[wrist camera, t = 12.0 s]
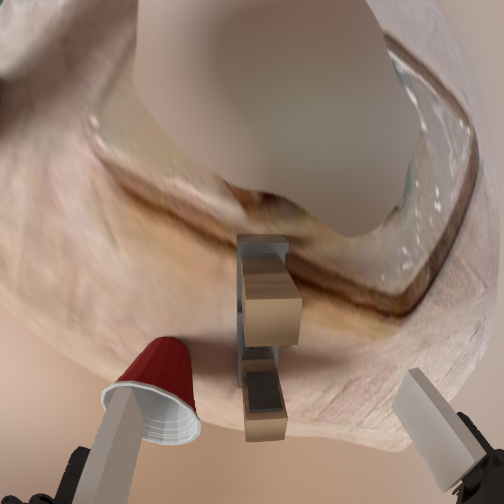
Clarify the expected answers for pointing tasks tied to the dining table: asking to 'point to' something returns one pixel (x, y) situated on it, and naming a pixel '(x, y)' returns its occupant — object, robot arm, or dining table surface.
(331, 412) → the dining table surface
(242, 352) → the rail
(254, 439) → the block
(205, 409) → the dining table surface
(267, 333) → the tan wooden block
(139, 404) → the plastic cup
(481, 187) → the dining table surface
